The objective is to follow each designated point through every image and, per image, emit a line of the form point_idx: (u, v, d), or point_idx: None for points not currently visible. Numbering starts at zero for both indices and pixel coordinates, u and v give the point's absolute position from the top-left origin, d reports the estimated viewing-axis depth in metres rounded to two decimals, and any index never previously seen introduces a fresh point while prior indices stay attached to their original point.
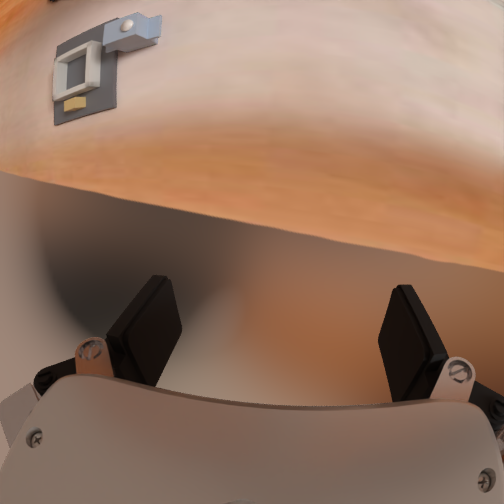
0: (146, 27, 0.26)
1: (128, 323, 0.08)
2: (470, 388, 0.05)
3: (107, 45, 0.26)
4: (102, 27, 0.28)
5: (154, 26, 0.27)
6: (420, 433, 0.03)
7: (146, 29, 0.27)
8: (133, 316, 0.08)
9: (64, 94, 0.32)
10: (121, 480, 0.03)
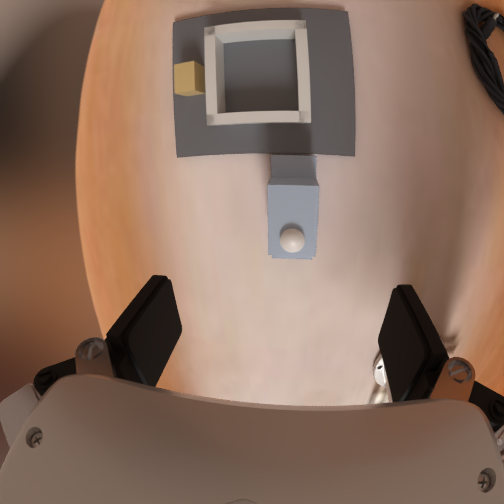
0: None
1: (128, 322, 0.08)
2: (470, 388, 0.05)
3: None
4: (346, 122, 0.22)
5: None
6: (420, 433, 0.03)
7: None
8: (133, 316, 0.08)
9: (207, 59, 0.19)
10: (121, 480, 0.03)
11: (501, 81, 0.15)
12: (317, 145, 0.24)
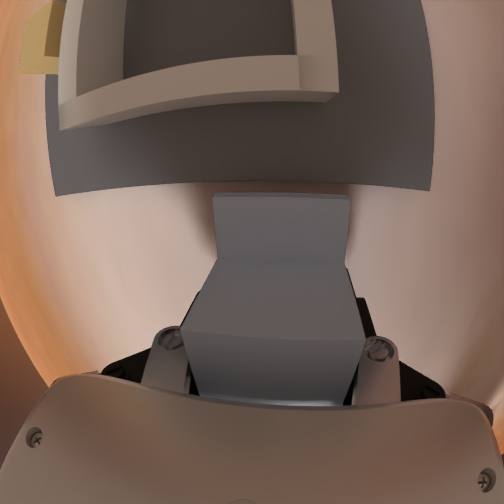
0: None
1: None
2: (397, 362, 0.06)
3: None
4: (415, 107, 0.08)
5: None
6: (420, 433, 0.03)
7: None
8: None
9: None
10: (121, 480, 0.03)
11: None
12: (345, 160, 0.09)
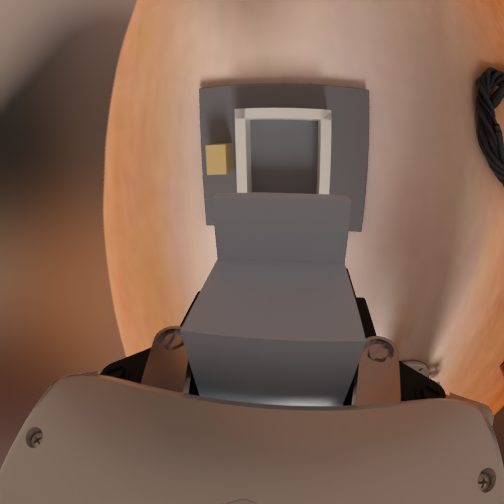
0: None
1: None
2: (396, 362, 0.06)
3: None
4: (356, 203, 0.28)
5: None
6: (420, 433, 0.03)
7: None
8: None
9: (238, 145, 0.24)
10: (121, 480, 0.03)
11: (502, 151, 0.20)
12: None
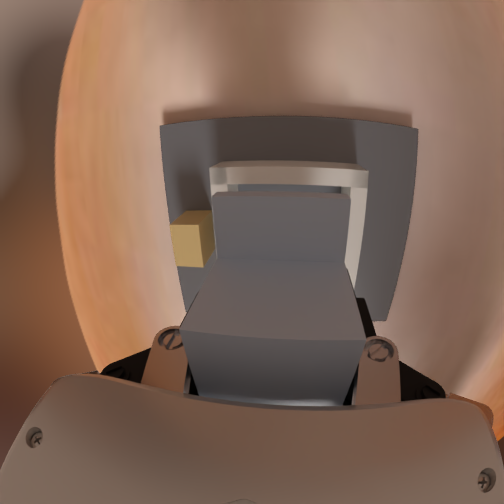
0: None
1: None
2: (396, 362, 0.06)
3: None
4: (385, 289, 0.20)
5: None
6: (420, 433, 0.03)
7: None
8: None
9: None
10: (121, 480, 0.03)
11: None
12: None
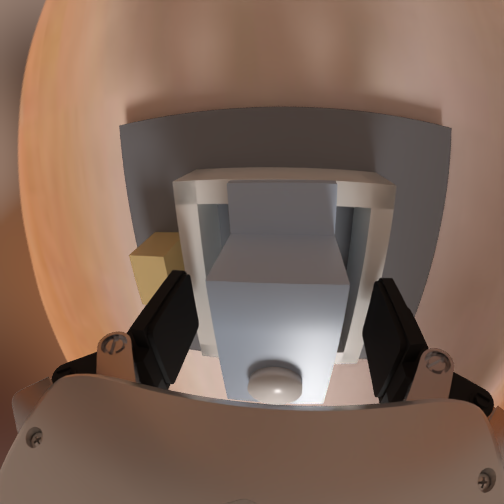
0: None
1: (152, 316, 0.08)
2: (450, 378, 0.05)
3: None
4: None
5: None
6: (420, 433, 0.03)
7: None
8: (156, 310, 0.09)
9: (189, 260, 0.12)
10: (121, 480, 0.03)
11: None
12: None
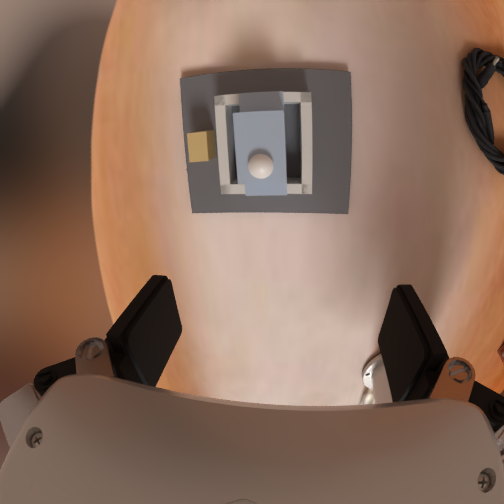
0: None
1: (128, 323, 0.08)
2: (470, 388, 0.05)
3: None
4: (342, 185, 0.28)
5: (267, 186, 0.25)
6: (420, 433, 0.03)
7: None
8: (133, 316, 0.08)
9: (219, 131, 0.24)
10: (121, 480, 0.03)
11: (491, 131, 0.20)
12: (316, 205, 0.29)
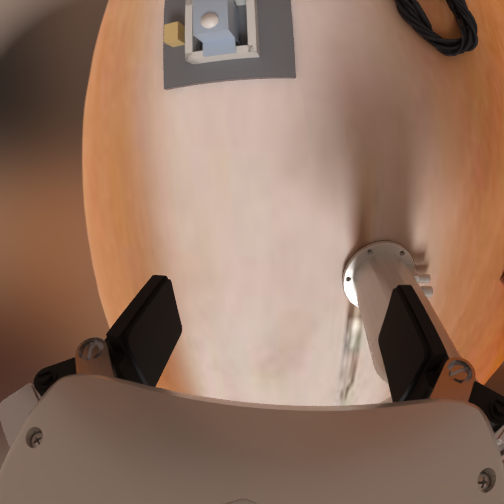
0: (217, 39, 0.24)
1: (128, 323, 0.08)
2: (470, 388, 0.05)
3: None
4: (287, 54, 0.27)
5: (219, 47, 0.25)
6: (420, 433, 0.03)
7: (215, 39, 0.24)
8: (133, 316, 0.08)
9: (187, 19, 0.24)
10: (121, 480, 0.03)
11: (425, 19, 0.20)
12: (266, 71, 0.29)
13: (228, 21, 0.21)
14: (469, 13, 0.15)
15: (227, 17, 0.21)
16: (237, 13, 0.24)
